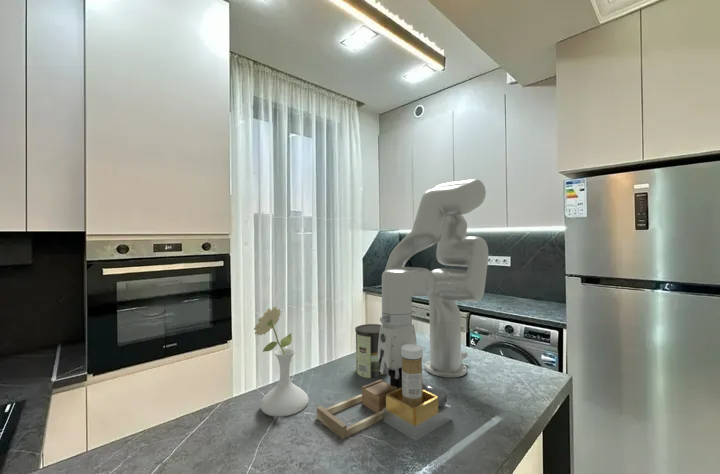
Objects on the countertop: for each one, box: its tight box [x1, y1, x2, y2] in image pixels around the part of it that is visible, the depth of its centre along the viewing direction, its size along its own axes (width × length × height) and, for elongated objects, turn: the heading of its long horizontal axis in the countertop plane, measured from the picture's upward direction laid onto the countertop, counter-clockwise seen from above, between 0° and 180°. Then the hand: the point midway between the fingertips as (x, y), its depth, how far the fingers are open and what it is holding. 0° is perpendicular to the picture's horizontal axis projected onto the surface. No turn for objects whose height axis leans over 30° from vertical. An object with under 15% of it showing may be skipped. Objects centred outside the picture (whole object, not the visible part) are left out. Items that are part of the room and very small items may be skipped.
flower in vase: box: [253, 306, 310, 418], centre depth 75 cm, size 13×11×25 cm
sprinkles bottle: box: [401, 344, 424, 408], centre depth 68 cm, size 5×5×14 cm
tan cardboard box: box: [361, 378, 397, 414], centre depth 75 cm, size 6×6×4 cm
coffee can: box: [354, 323, 388, 379], centre depth 95 cm, size 10×10×14 cm
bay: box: [316, 393, 384, 440], centre depth 72 cm, size 18×10×4 cm, turn 130°
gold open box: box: [383, 381, 452, 442], centre depth 69 cm, size 12×9×7 cm
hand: (396, 392), depth 79 cm, fingers closed
